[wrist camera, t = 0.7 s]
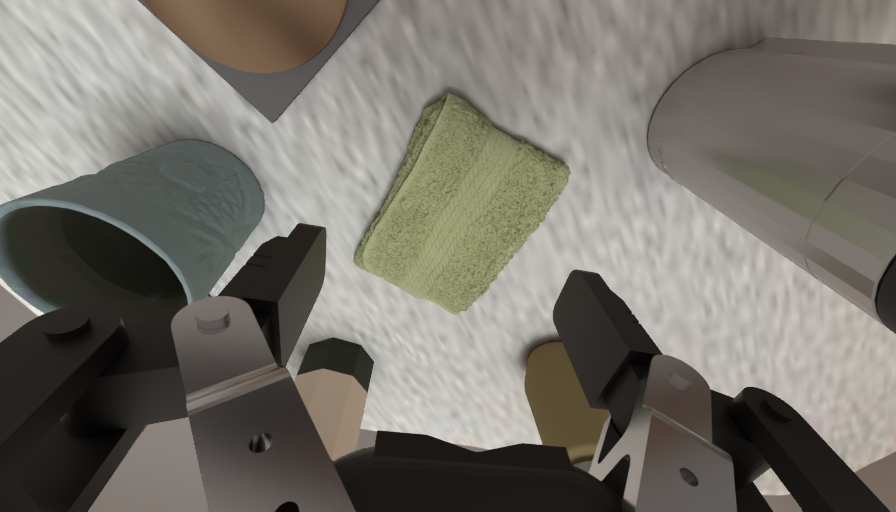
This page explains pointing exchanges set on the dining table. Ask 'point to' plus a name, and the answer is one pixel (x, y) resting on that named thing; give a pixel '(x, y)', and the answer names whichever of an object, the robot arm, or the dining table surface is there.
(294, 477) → the robot arm
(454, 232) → the washcloth
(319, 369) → the wine bottle
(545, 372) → the squeeze bottle
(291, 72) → the mat
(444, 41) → the dining table surface
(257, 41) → the lid
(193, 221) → the grey-blue cup
